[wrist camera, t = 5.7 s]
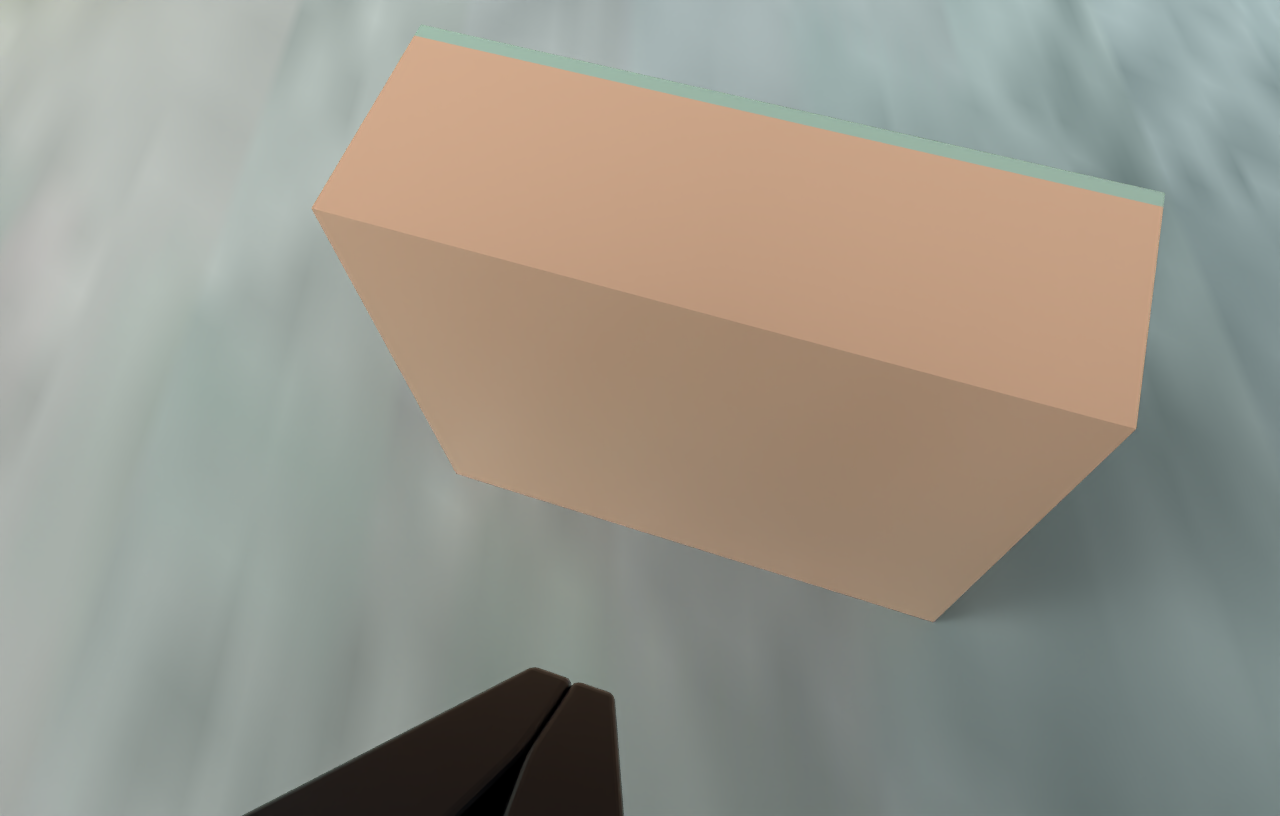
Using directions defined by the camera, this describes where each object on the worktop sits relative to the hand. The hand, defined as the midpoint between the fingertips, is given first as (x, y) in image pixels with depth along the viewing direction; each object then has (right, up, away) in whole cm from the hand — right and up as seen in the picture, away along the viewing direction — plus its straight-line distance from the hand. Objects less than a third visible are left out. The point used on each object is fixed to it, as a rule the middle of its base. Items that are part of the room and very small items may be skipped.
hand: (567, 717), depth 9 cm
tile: (+2, +2, +9) cm, 9 cm away
